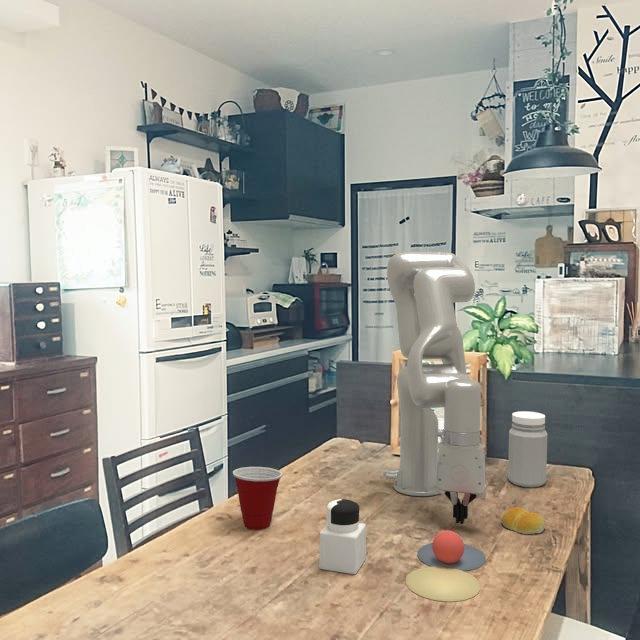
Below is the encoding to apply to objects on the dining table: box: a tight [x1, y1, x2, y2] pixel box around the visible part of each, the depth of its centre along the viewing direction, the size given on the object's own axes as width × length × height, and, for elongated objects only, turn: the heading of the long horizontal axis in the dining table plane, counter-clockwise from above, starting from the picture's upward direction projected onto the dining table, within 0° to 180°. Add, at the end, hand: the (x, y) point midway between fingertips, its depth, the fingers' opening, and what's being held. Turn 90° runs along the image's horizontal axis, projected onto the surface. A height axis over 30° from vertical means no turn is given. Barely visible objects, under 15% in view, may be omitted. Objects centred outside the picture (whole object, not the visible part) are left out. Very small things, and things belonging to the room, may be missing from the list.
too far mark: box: [405, 566, 481, 603], centre depth 120 cm, size 13×13×1 cm
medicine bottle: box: [318, 498, 367, 575], centre depth 127 cm, size 7×7×12 cm
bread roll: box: [500, 506, 546, 535], centre depth 146 cm, size 8×9×4 cm
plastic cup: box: [232, 466, 284, 531], centre depth 147 cm, size 11×11×12 cm
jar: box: [507, 410, 548, 488], centre depth 176 cm, size 10×10×18 cm
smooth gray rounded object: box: [417, 542, 487, 572], centre depth 131 cm, size 13×13×1 cm
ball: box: [431, 530, 465, 564], centre depth 128 cm, size 6×6×6 cm
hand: (460, 521), depth 145 cm, fingers closed
